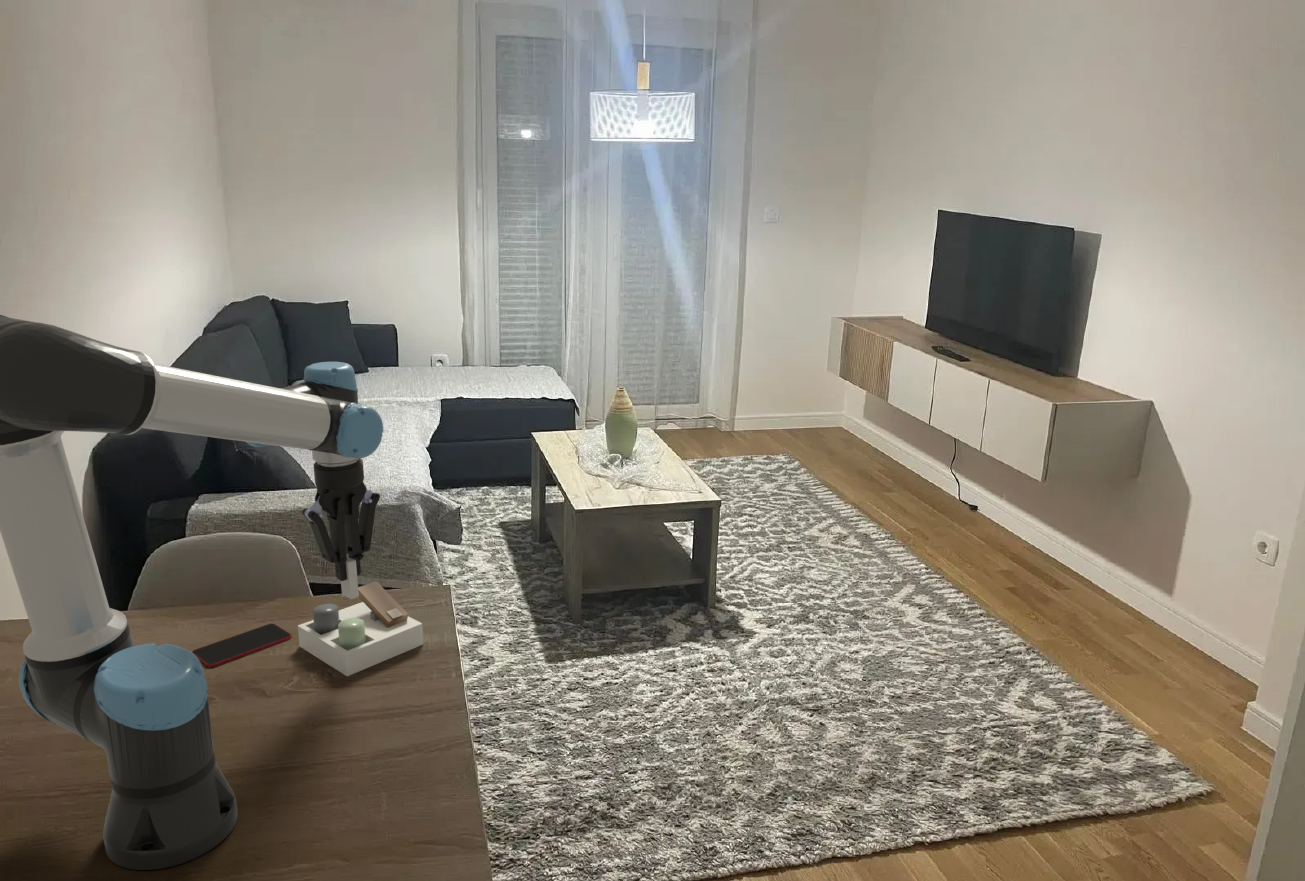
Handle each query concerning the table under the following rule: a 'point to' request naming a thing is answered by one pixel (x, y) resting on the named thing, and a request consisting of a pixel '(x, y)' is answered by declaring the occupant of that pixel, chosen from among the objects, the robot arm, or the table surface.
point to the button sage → (351, 633)
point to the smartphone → (241, 645)
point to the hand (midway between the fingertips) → (350, 595)
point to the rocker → (382, 604)
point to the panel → (375, 650)
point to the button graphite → (325, 618)
